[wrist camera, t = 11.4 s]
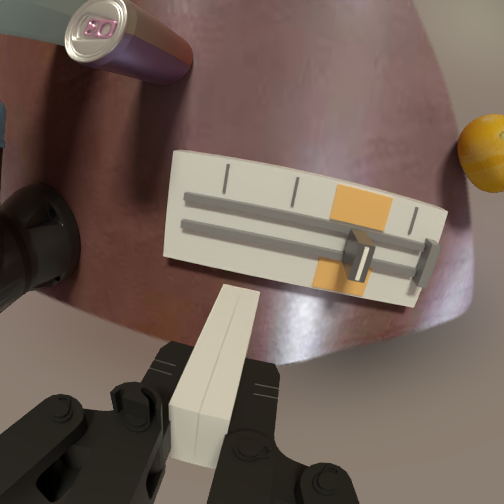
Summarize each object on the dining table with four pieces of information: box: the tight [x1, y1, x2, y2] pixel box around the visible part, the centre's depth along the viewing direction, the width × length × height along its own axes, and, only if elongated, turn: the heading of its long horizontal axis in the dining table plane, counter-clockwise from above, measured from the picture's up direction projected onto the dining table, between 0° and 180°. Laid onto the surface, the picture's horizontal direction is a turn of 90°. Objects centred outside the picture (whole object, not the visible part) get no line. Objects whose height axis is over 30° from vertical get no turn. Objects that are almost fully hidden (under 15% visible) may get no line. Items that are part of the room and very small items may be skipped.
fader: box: [342, 229, 376, 283], centre depth 30 cm, size 2×4×6 cm, turn 170°
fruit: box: [458, 114, 504, 193], centre depth 25 cm, size 9×8×8 cm
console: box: [163, 150, 448, 308], centre depth 33 cm, size 30×12×4 cm, turn 80°
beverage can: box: [64, 0, 193, 85], centre depth 23 cm, size 6×6×15 cm
